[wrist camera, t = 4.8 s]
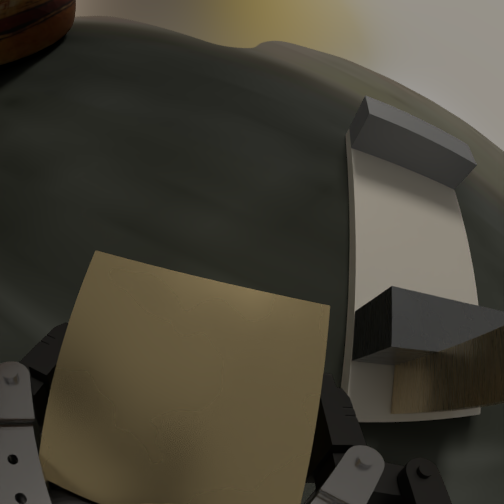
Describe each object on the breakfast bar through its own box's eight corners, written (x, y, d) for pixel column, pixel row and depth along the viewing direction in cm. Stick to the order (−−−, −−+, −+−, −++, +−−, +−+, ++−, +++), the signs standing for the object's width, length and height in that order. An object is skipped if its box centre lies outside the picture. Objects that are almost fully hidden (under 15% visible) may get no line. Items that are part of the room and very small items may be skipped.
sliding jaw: (345, 412, 14) (496, 399, 5) (355, 311, 17) (475, 218, 8) (481, 407, 15) (593, 377, 6) (481, 332, 18) (581, 278, 9)
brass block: (139, 431, 13) (37, 474, 3) (159, 345, 15) (95, 250, 6) (232, 452, 13) (291, 538, 4) (249, 366, 16) (330, 305, 6)
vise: (336, 420, 15) (383, 423, 10) (345, 135, 26) (365, 95, 22) (470, 415, 15) (520, 407, 11) (442, 174, 27) (467, 144, 23)
